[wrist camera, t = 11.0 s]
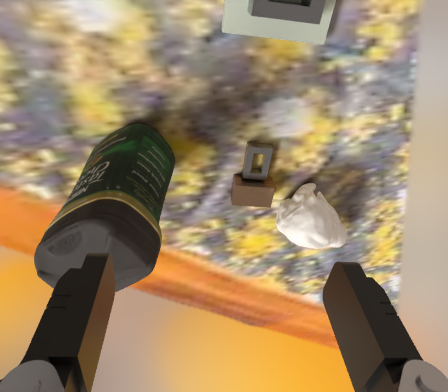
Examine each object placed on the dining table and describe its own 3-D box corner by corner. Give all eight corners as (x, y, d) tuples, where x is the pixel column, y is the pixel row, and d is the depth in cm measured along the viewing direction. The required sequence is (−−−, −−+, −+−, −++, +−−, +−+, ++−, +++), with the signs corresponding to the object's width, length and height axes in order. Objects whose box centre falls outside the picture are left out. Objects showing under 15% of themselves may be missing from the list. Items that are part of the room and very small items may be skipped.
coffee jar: (143, 108, 37) (102, 214, 22) (185, 161, 41) (175, 279, 26) (79, 151, 39) (3, 271, 24) (124, 196, 43) (83, 322, 28)
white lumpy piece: (323, 213, 35) (377, 256, 42) (299, 167, 42) (349, 210, 48) (279, 245, 38) (336, 281, 44) (263, 198, 45) (315, 235, 51)
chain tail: (230, 193, 44) (231, 205, 42) (239, 141, 40) (241, 151, 38) (267, 196, 45) (270, 207, 43) (279, 144, 40) (283, 154, 38)
